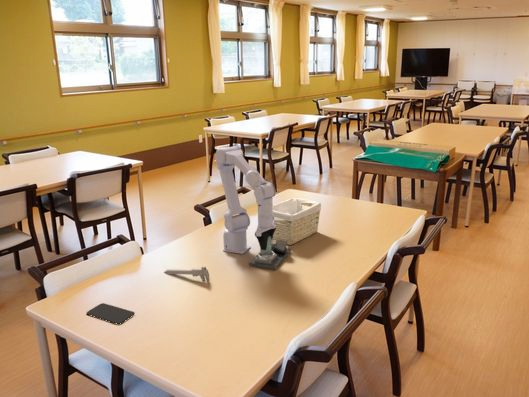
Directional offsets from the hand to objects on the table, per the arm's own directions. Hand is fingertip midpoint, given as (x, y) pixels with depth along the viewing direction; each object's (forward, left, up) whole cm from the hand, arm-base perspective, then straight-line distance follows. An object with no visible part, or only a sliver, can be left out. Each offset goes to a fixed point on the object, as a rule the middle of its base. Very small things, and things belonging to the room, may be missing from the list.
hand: (265, 247), depth 176 cm
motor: (0, +5, -7) cm, 8 cm away
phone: (-33, -52, -8) cm, 62 cm away
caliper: (-24, -21, -8) cm, 33 cm away
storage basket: (0, +32, -8) cm, 33 cm away
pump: (0, 0, -1) cm, 1 cm away
